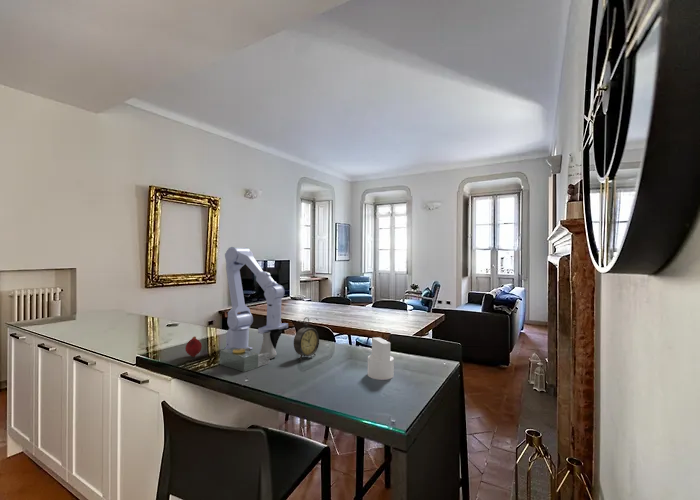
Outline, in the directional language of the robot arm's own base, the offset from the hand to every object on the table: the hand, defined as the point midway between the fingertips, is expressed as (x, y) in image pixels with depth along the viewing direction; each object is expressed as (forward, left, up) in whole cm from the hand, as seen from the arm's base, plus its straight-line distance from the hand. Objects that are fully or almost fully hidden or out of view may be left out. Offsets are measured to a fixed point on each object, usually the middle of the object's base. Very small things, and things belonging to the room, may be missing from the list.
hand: (273, 348), depth 138 cm
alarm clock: (+12, +6, -3) cm, 14 cm away
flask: (0, -3, -3) cm, 4 cm away
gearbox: (0, -14, -3) cm, 14 cm away
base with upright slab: (+46, +7, -3) cm, 47 cm away
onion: (-23, -21, -3) cm, 31 cm away
